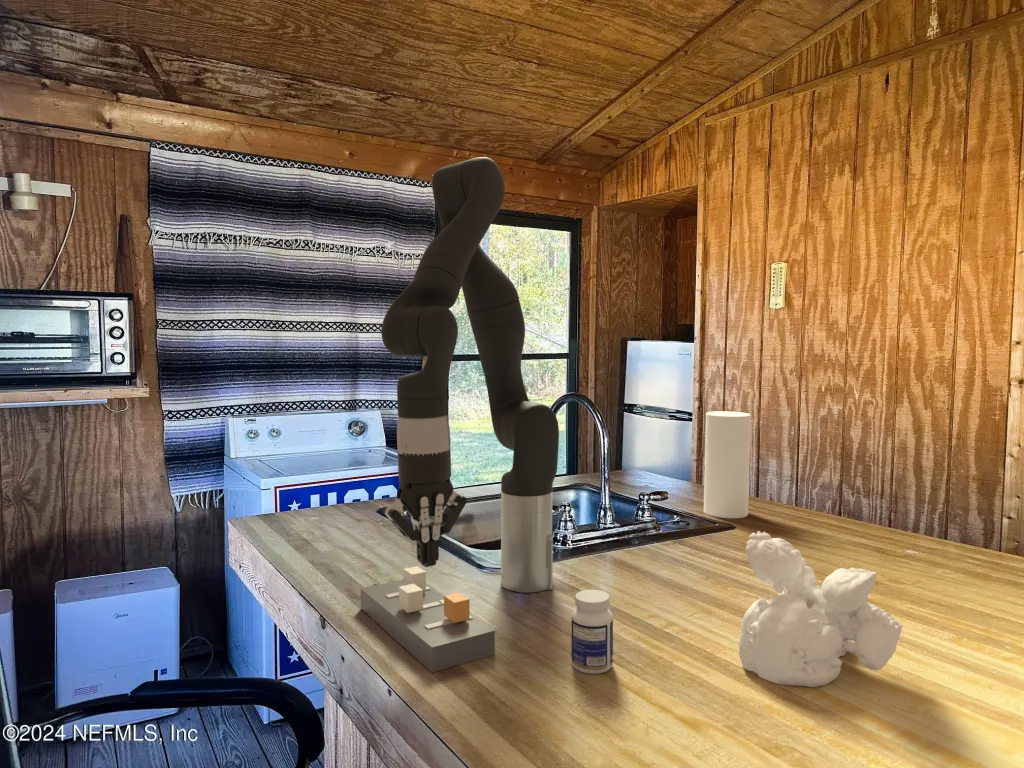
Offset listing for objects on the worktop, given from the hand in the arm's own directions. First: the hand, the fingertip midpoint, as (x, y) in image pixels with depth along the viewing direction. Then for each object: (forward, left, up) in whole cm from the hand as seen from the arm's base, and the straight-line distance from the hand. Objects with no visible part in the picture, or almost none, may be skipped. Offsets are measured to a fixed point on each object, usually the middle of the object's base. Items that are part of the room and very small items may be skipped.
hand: (428, 564), depth 105 cm
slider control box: (+3, -8, -12) cm, 15 cm away
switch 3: (-4, -1, -8) cm, 9 cm away
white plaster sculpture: (-54, +4, -13) cm, 56 cm away
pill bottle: (-23, +5, -13) cm, 27 cm away
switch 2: (+3, -5, -8) cm, 10 cm away
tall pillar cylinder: (-64, -77, -13) cm, 101 cm away
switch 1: (+4, -13, -8) cm, 16 cm away
